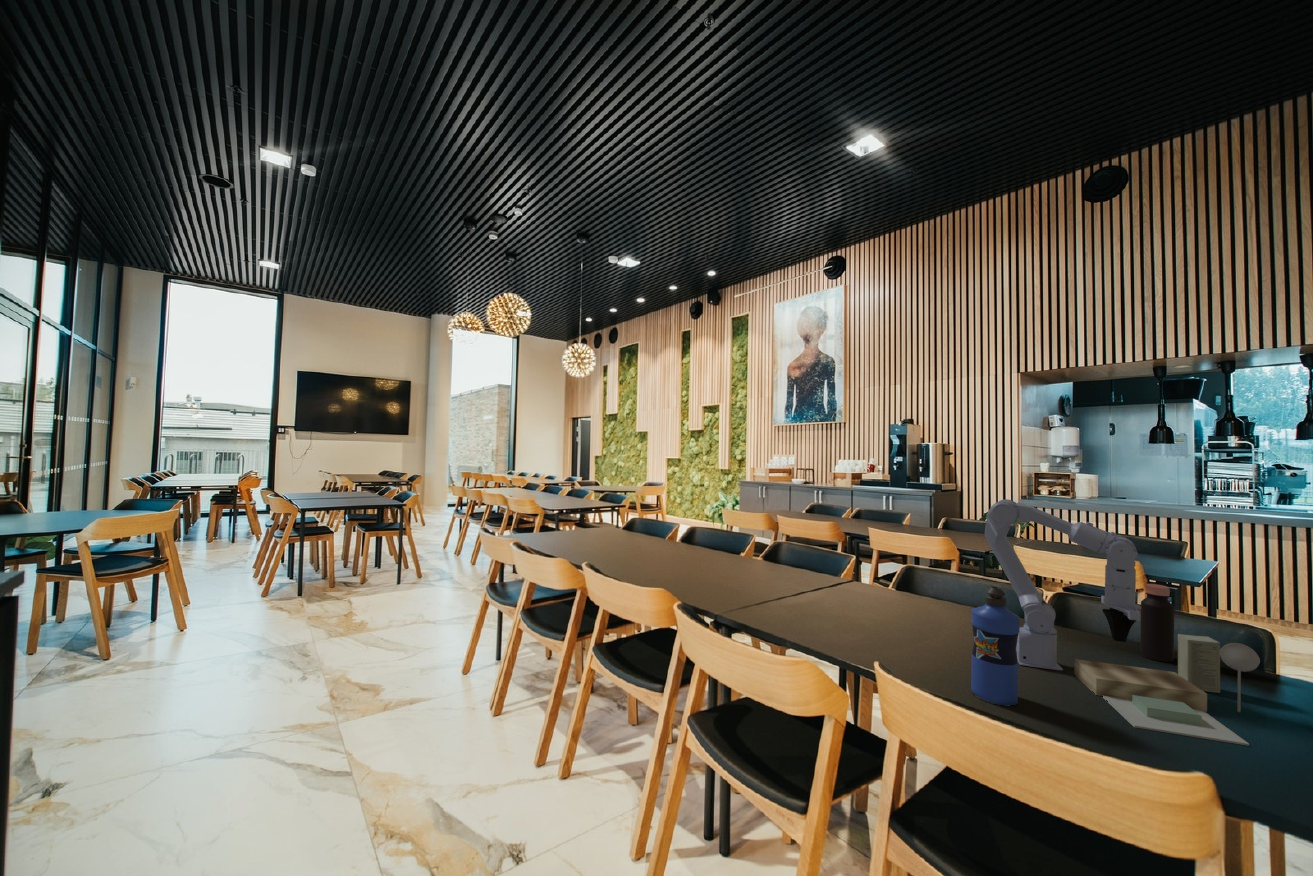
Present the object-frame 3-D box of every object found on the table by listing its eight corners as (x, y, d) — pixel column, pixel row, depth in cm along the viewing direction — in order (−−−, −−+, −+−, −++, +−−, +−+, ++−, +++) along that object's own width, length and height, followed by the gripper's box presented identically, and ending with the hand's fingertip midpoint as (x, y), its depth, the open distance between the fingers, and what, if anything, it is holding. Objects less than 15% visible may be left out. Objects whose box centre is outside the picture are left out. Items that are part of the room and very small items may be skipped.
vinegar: (1147, 660, 144) (1147, 587, 144) (1135, 651, 150) (1136, 581, 151) (1179, 664, 142) (1179, 590, 142) (1166, 655, 148) (1166, 584, 148)
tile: (1132, 695, 117) (1132, 704, 117) (1147, 707, 112) (1147, 716, 112) (1183, 702, 114) (1183, 711, 114) (1201, 715, 109) (1201, 725, 109)
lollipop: (1210, 705, 119) (1211, 638, 119) (1234, 704, 119) (1234, 638, 119) (1243, 719, 112) (1244, 649, 113) (1268, 718, 113) (1268, 649, 113)
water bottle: (1003, 710, 114) (1005, 595, 114) (961, 691, 122) (963, 584, 123) (1027, 701, 118) (1028, 590, 119) (985, 684, 127) (986, 580, 127)
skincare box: (1208, 686, 129) (1209, 636, 129) (1221, 694, 124) (1221, 642, 125) (1176, 682, 131) (1176, 633, 131) (1187, 689, 126) (1187, 639, 127)
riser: (1096, 695, 122) (1096, 678, 122) (1074, 674, 133) (1074, 659, 133) (1207, 712, 115) (1207, 693, 115) (1174, 688, 127) (1174, 672, 127)
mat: (1134, 727, 108) (1134, 725, 108) (1102, 697, 121) (1102, 695, 121) (1249, 746, 102) (1249, 744, 102) (1202, 712, 115) (1202, 710, 115)
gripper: (1156, 595, 122) (1155, 653, 122) (1125, 580, 136) (1124, 633, 136) (1119, 591, 124) (1118, 649, 124) (1091, 577, 138) (1091, 629, 138)
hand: (1119, 640), depth 130 cm, fingers closed
